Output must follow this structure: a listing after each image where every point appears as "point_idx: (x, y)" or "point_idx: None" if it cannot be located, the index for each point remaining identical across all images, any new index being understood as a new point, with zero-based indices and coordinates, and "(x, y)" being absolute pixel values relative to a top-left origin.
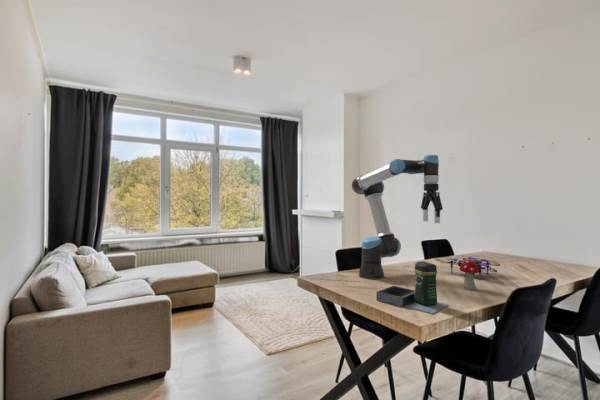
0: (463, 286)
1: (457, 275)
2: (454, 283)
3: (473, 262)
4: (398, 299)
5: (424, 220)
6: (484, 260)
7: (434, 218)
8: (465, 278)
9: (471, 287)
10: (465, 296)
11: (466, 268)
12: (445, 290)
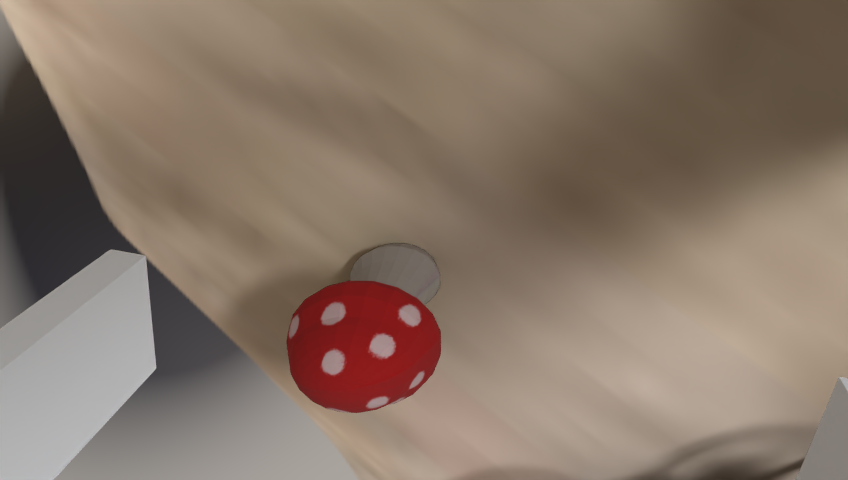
0: (410, 247)
1: (754, 448)
2: (546, 271)
3: (305, 389)
4: None
5: (838, 424)
6: None
7: (59, 320)
8: (388, 284)
9: (353, 265)
10: (237, 123)
11: (318, 304)
12: (385, 82)
